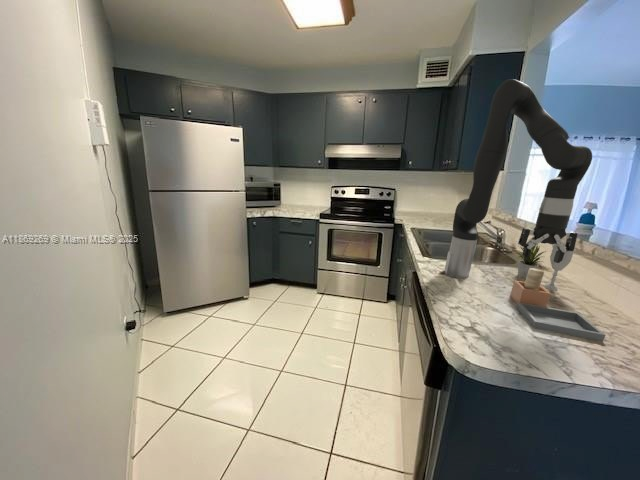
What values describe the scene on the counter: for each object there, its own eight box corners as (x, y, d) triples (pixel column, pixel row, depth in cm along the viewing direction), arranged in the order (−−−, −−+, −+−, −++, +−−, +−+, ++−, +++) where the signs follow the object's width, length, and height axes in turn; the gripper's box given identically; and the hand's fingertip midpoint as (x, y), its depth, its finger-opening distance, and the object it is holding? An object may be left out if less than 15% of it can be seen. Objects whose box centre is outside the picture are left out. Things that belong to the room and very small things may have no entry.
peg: (522, 303, 88) (532, 271, 85) (517, 298, 92) (527, 267, 88) (536, 306, 87) (546, 273, 83) (531, 300, 90) (540, 269, 87)
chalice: (566, 295, 98) (581, 251, 94) (546, 293, 100) (560, 249, 95) (553, 287, 105) (567, 245, 101) (534, 285, 107) (547, 244, 102)
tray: (532, 330, 74) (535, 321, 73) (516, 310, 85) (518, 302, 85) (601, 344, 70) (605, 335, 69) (575, 321, 81) (578, 312, 80)
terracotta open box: (517, 307, 87) (523, 289, 85) (509, 297, 94) (514, 280, 92) (544, 312, 85) (550, 293, 83) (533, 302, 92) (539, 284, 90)
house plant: (501, 266, 127) (510, 235, 122) (536, 273, 121) (546, 239, 116) (507, 276, 114) (517, 241, 110) (546, 284, 108) (558, 247, 104)
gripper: (533, 212, 79) (520, 261, 84) (590, 216, 75) (574, 267, 80) (522, 209, 86) (511, 254, 91) (574, 212, 82) (560, 259, 87)
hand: (541, 260), depth 85 cm, fingers open, 8 cm apart
